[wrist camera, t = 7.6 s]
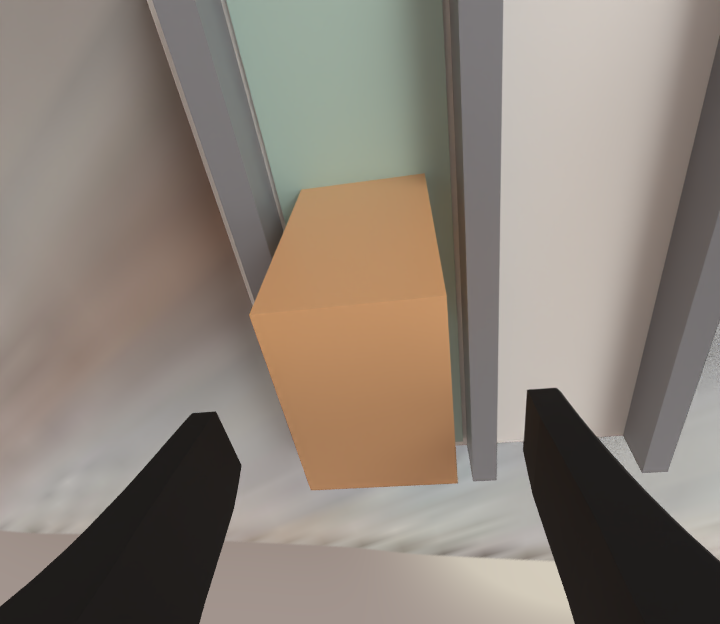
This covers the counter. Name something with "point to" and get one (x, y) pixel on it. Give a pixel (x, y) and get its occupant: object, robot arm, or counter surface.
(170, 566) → the robot arm
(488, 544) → the counter surface
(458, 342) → the slot rack
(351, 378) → the orange block
